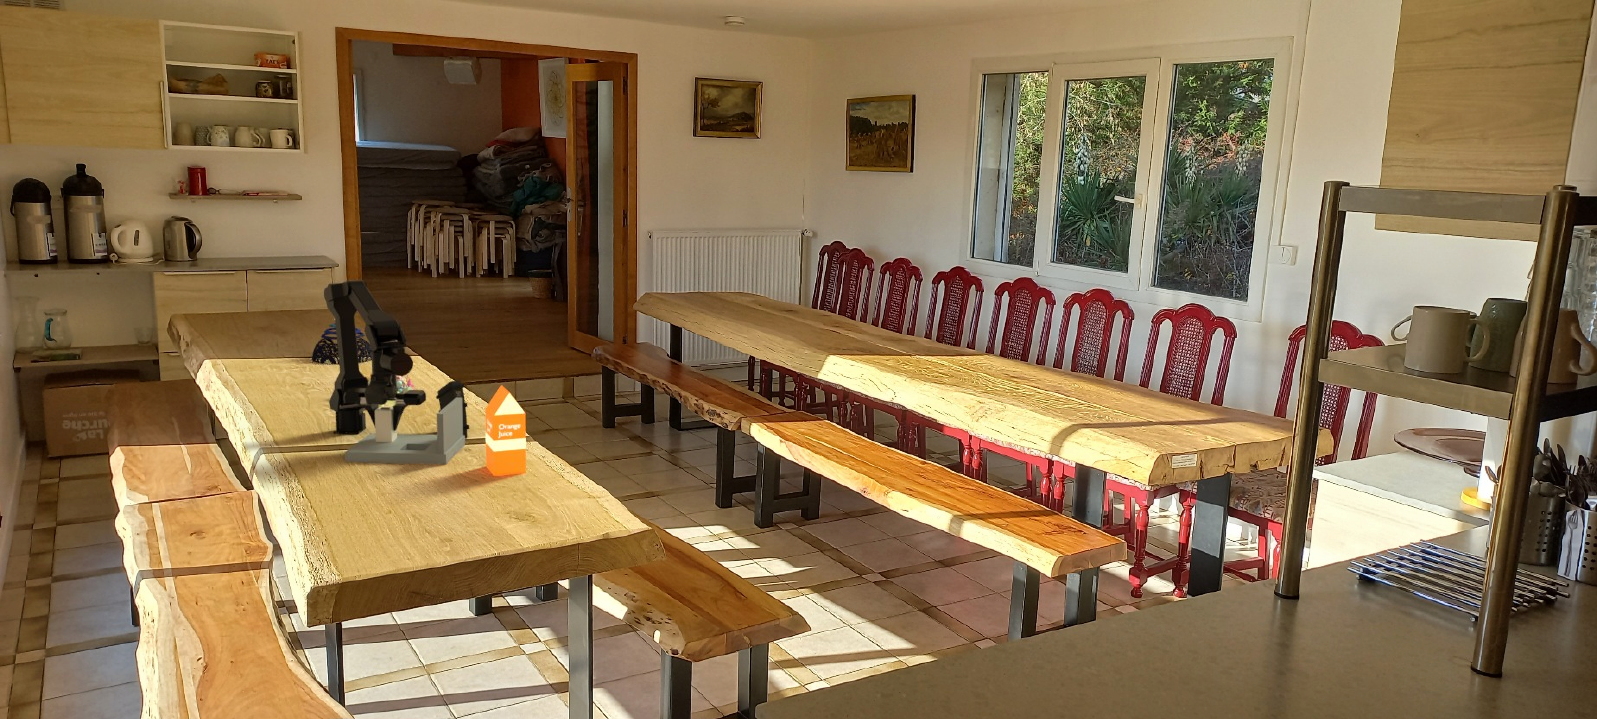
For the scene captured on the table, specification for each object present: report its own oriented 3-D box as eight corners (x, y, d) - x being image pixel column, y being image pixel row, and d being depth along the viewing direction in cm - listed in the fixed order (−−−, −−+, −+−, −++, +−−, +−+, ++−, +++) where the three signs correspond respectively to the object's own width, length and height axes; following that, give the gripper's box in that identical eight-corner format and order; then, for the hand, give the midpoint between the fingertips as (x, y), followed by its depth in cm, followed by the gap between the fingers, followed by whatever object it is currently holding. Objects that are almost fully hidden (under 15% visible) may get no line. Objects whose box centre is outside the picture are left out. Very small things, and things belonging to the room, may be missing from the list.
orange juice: (493, 476, 261) (492, 393, 258) (485, 466, 269) (484, 385, 265) (526, 472, 265) (526, 390, 261) (518, 463, 272) (517, 383, 269)
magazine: (460, 436, 288) (449, 381, 291) (443, 447, 298) (432, 393, 301) (474, 434, 291) (463, 379, 293) (456, 445, 301) (446, 392, 303)
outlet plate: (345, 461, 268) (343, 411, 266) (370, 442, 286) (369, 395, 283) (446, 464, 269) (445, 414, 267) (465, 444, 287) (464, 397, 284)
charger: (375, 441, 277) (374, 409, 276) (381, 437, 281) (379, 405, 280) (392, 442, 278) (391, 409, 276) (397, 437, 282) (396, 406, 280)
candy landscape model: (322, 402, 328) (321, 372, 326) (379, 388, 349) (379, 359, 348) (389, 412, 319) (388, 381, 317) (444, 397, 340) (443, 368, 339)
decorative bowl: (300, 362, 383) (298, 321, 381) (333, 352, 403) (331, 313, 400) (353, 366, 380) (352, 324, 377) (384, 356, 400) (383, 316, 397)
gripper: (334, 374, 268) (336, 437, 271) (412, 376, 269) (414, 439, 272) (350, 365, 279) (352, 426, 282) (425, 367, 280) (427, 428, 283)
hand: (386, 430), depth 279 cm, fingers closed on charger, 4 cm apart
